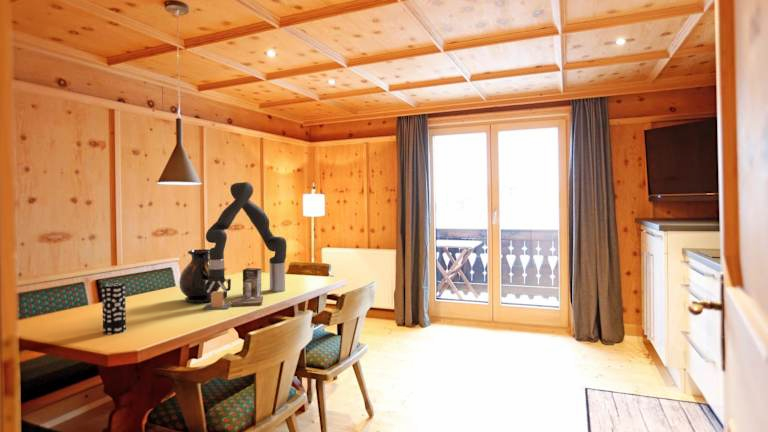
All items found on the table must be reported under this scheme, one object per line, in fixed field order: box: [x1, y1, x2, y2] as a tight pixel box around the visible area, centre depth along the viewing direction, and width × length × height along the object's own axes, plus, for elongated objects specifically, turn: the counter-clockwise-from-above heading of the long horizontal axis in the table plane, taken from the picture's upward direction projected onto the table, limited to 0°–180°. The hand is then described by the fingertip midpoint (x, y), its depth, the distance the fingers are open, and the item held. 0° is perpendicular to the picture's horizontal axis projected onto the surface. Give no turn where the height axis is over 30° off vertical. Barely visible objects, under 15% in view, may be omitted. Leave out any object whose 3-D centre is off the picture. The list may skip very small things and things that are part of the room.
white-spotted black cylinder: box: [101, 282, 127, 335], centre depth 186 cm, size 8×8×20 cm
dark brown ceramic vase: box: [178, 248, 221, 304], centre depth 243 cm, size 22×22×28 cm
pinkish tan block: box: [211, 290, 225, 307], centre depth 229 cm, size 6×6×7 cm
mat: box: [202, 302, 232, 311], centre depth 229 cm, size 12×12×1 cm
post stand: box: [231, 283, 264, 308], centre depth 238 cm, size 15×15×10 cm
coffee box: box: [242, 267, 262, 297], centre depth 254 cm, size 9×6×16 cm
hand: (217, 299), depth 229 cm, fingers open, 7 cm apart
